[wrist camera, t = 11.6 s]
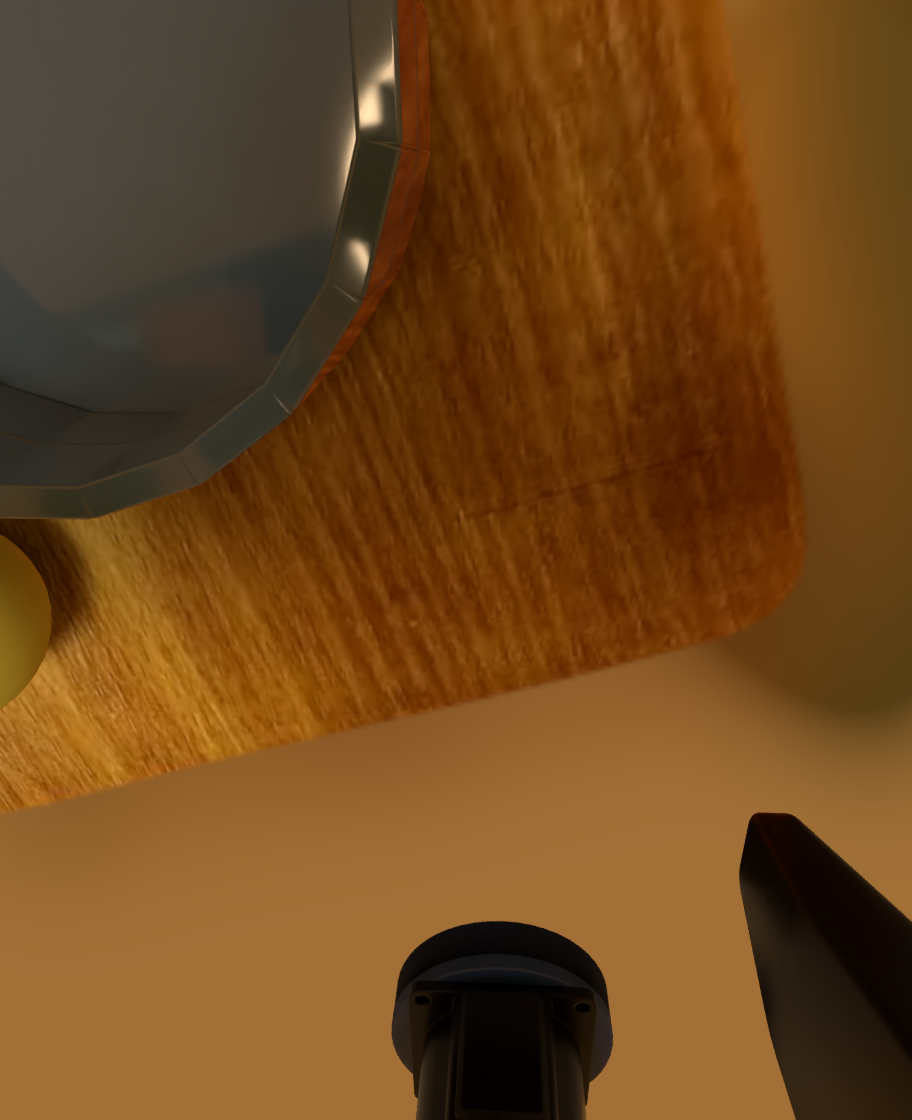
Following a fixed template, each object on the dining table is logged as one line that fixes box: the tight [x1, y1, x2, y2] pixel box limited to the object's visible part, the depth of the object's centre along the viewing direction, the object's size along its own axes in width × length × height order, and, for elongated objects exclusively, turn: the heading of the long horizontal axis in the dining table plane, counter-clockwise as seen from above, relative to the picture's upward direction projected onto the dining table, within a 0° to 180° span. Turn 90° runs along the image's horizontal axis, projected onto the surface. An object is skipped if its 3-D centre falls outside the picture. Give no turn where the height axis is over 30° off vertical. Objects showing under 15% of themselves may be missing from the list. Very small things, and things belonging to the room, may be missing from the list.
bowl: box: [0, 0, 432, 519], centre depth 14 cm, size 14×14×6 cm
